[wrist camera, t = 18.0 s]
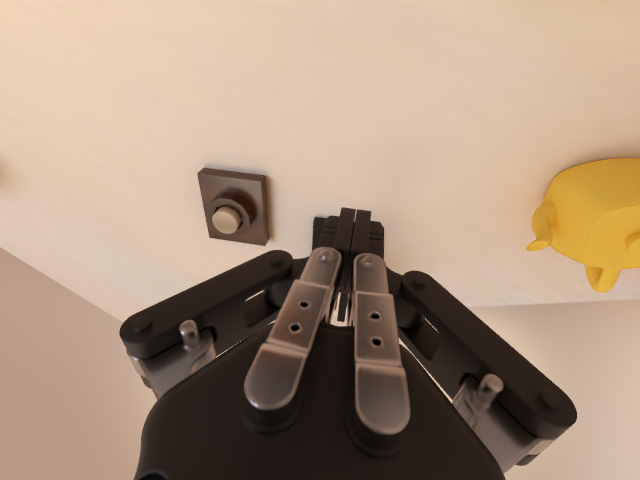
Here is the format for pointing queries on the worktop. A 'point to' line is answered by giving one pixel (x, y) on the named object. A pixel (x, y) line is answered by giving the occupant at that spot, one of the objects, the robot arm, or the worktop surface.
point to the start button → (226, 219)
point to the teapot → (593, 218)
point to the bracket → (344, 297)
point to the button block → (236, 203)
